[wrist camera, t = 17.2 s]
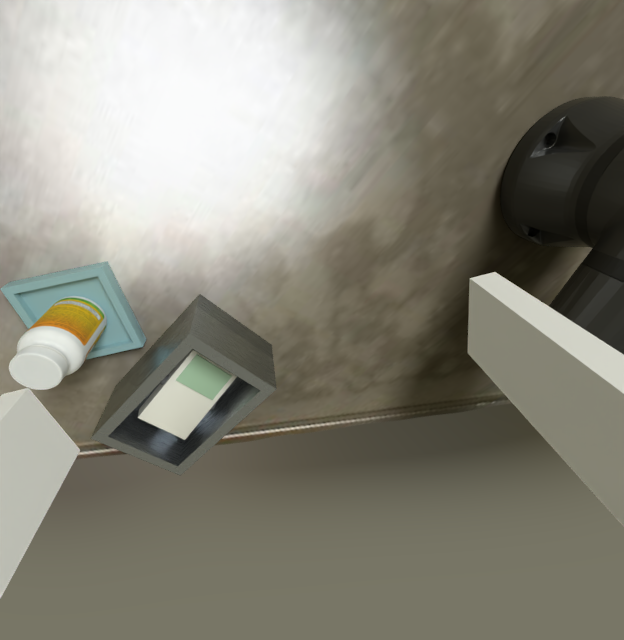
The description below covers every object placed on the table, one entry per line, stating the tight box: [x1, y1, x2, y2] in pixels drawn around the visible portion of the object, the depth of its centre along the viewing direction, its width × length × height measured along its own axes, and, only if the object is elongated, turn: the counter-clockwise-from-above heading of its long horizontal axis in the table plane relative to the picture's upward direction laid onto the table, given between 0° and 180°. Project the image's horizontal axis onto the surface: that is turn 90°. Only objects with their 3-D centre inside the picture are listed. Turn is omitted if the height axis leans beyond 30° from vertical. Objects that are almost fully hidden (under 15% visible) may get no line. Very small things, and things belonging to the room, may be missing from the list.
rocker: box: [138, 349, 237, 440], centre depth 40 cm, size 10×7×2 cm
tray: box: [1, 262, 146, 359], centre depth 38 cm, size 10×10×2 cm
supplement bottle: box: [9, 296, 107, 390], centre depth 34 cm, size 5×5×10 cm
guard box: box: [91, 294, 276, 475], centre depth 41 cm, size 17×11×8 cm, turn 135°
